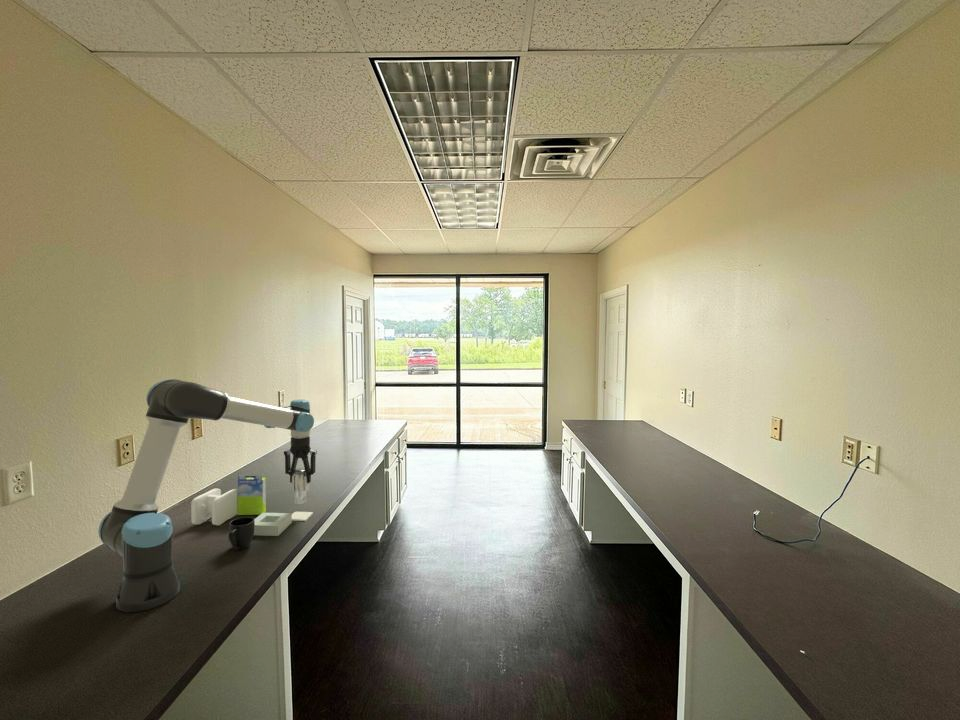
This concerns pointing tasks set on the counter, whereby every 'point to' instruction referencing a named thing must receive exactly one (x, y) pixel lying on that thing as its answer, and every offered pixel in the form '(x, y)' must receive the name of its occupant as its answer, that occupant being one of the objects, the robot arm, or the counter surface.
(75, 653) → the counter surface
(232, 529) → the mug
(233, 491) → the cable organizer
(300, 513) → the coaster
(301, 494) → the brushed metal cylinder
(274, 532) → the housing
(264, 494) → the box
